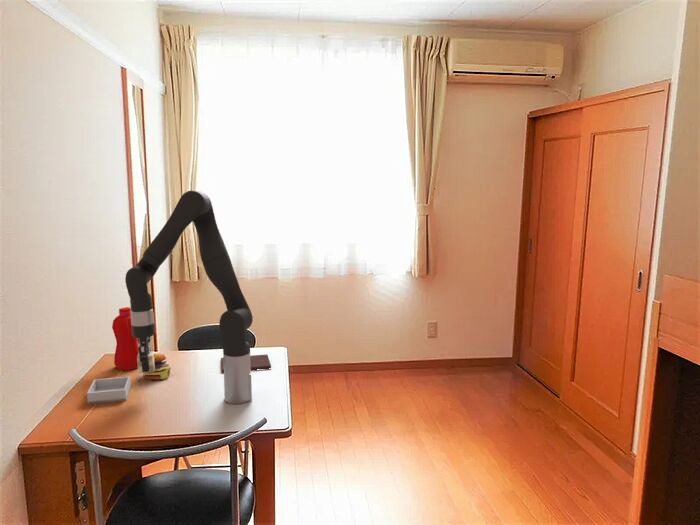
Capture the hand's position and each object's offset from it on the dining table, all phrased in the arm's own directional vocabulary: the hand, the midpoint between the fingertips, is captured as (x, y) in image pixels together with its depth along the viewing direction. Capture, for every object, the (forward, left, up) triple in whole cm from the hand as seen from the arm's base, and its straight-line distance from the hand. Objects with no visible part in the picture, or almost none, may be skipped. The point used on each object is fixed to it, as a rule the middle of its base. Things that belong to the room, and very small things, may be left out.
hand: (146, 368), depth 181 cm
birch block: (0, 0, -1) cm, 1 cm away
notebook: (-36, -23, -11) cm, 44 cm away
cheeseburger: (-1, -19, -11) cm, 22 cm away
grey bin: (+13, -4, -10) cm, 17 cm away
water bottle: (+11, -32, -11) cm, 36 cm away
